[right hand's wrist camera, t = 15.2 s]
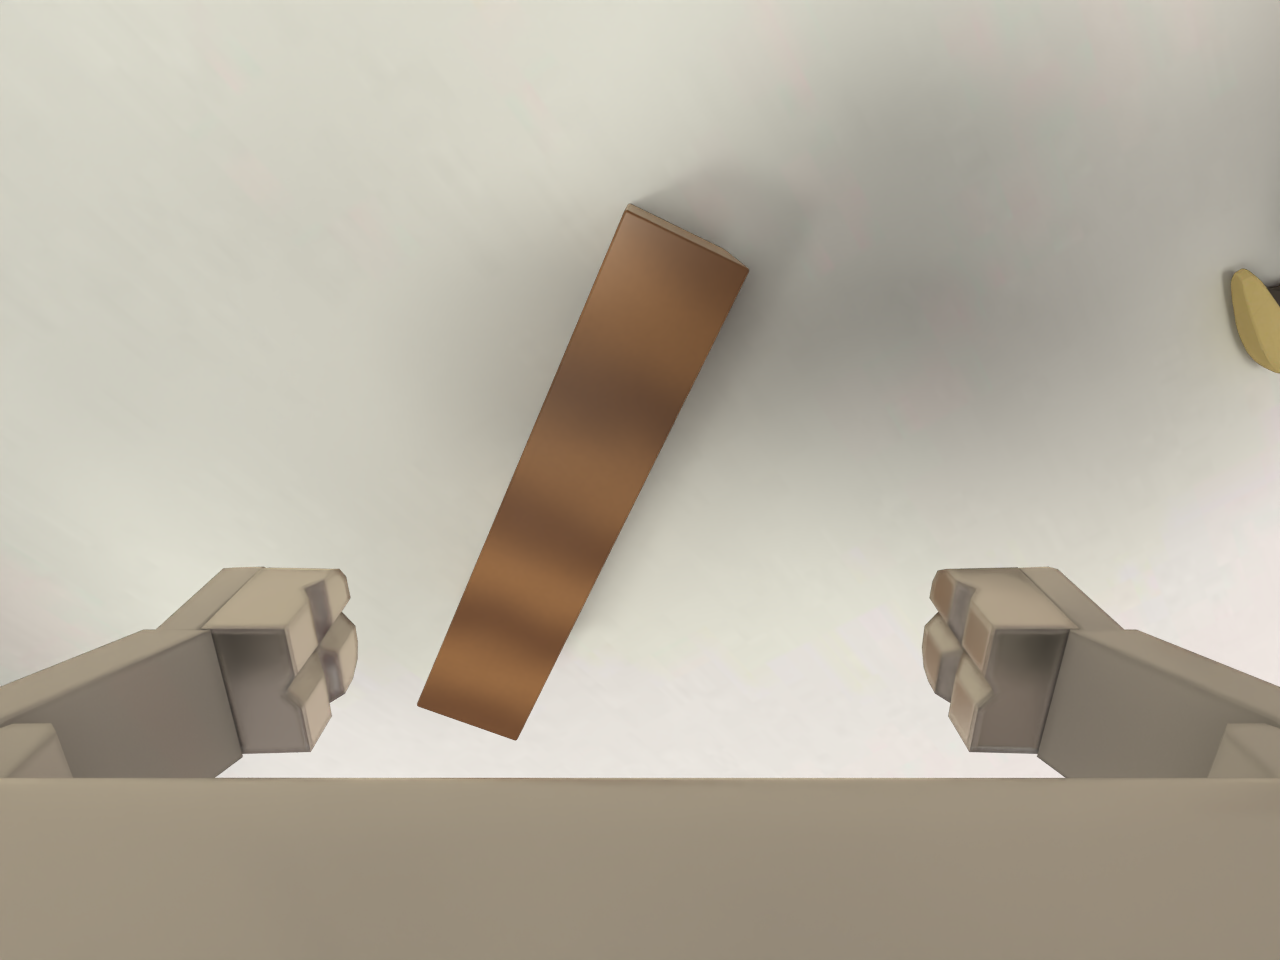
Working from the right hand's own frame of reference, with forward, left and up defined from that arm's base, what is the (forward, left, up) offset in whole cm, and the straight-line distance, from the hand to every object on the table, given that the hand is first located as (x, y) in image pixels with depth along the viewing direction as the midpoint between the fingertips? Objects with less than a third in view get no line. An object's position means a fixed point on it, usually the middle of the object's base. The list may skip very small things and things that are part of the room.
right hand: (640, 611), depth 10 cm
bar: (+6, +4, -26) cm, 27 cm away
